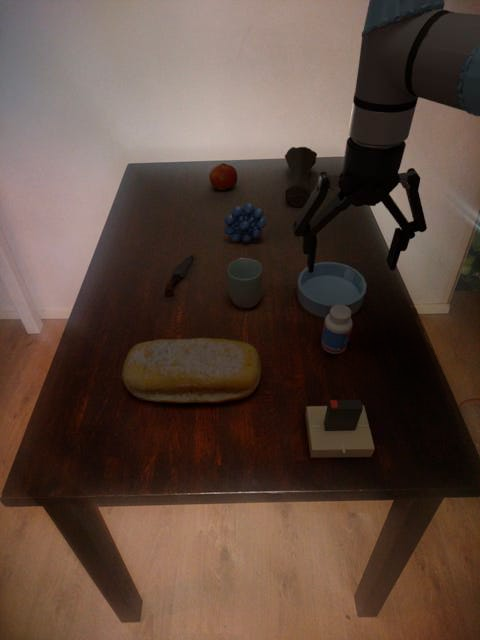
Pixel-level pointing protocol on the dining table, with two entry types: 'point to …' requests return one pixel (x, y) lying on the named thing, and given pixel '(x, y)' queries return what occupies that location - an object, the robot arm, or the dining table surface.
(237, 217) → the grapes
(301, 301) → the shallow blue dish
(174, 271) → the knife
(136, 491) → the dining table surface
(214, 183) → the tomato
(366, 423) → the tan flat block
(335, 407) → the black block red label
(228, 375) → the bread
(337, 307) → the pill bottle
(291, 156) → the scalloped vase
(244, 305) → the cup
